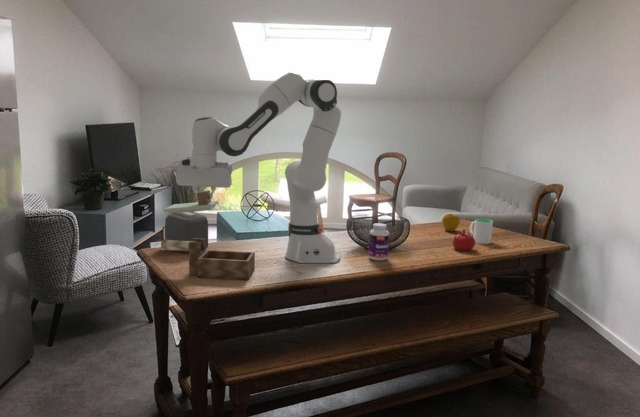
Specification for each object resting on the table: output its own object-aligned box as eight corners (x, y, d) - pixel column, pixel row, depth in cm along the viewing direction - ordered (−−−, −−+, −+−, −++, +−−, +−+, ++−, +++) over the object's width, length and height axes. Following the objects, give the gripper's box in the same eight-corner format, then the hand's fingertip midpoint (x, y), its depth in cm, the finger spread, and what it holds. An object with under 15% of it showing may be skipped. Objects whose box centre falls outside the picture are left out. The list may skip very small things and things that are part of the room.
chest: (254, 270, 200) (254, 239, 198) (248, 280, 188) (248, 247, 186) (196, 267, 201) (196, 236, 199) (186, 277, 190) (186, 244, 187)
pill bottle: (375, 262, 216) (376, 227, 213) (364, 257, 223) (366, 223, 220) (391, 260, 220) (393, 225, 217) (380, 255, 227) (382, 221, 224)
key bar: (197, 249, 196) (197, 241, 195) (194, 251, 192) (194, 243, 192) (164, 247, 196) (164, 239, 196) (161, 250, 193) (161, 242, 192)
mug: (463, 239, 260) (465, 218, 258) (473, 237, 265) (475, 216, 263) (483, 244, 251) (485, 222, 249) (494, 242, 255) (496, 221, 253)
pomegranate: (479, 251, 239) (481, 231, 237) (463, 253, 234) (465, 232, 232) (462, 245, 247) (464, 226, 246) (446, 247, 242) (448, 227, 240)
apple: (460, 229, 280) (461, 213, 278) (457, 233, 272) (458, 216, 271) (443, 228, 283) (444, 211, 282) (440, 231, 276) (441, 214, 274)
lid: (218, 205, 206) (216, 188, 205) (211, 210, 194) (209, 192, 193) (174, 209, 207) (172, 192, 206) (164, 214, 195) (162, 196, 194)
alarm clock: (208, 250, 225) (208, 214, 223) (185, 255, 217) (184, 217, 214) (185, 243, 236) (185, 208, 233) (163, 247, 228) (162, 211, 225)
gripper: (234, 161, 200) (233, 198, 203) (179, 159, 201) (179, 195, 203) (230, 163, 194) (229, 201, 196) (174, 160, 195) (174, 198, 197)
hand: (204, 198), depth 200 cm, fingers closed on lid, 3 cm apart
